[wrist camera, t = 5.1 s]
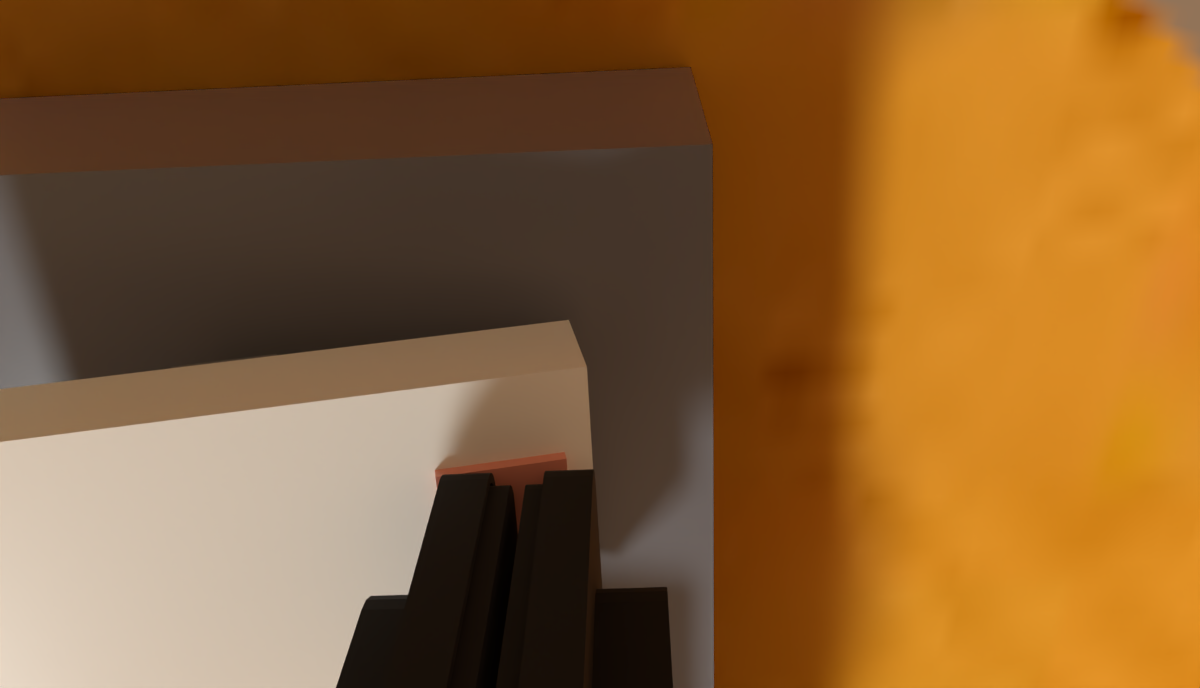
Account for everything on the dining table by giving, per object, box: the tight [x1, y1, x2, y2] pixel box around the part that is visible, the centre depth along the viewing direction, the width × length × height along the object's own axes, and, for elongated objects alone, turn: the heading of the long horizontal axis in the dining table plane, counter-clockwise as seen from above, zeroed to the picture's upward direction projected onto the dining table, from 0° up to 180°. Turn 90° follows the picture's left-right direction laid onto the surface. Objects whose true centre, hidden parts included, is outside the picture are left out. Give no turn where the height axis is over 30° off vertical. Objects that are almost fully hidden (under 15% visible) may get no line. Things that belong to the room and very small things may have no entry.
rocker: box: [0, 320, 593, 688], centre depth 13 cm, size 4×8×2 cm, turn 93°
